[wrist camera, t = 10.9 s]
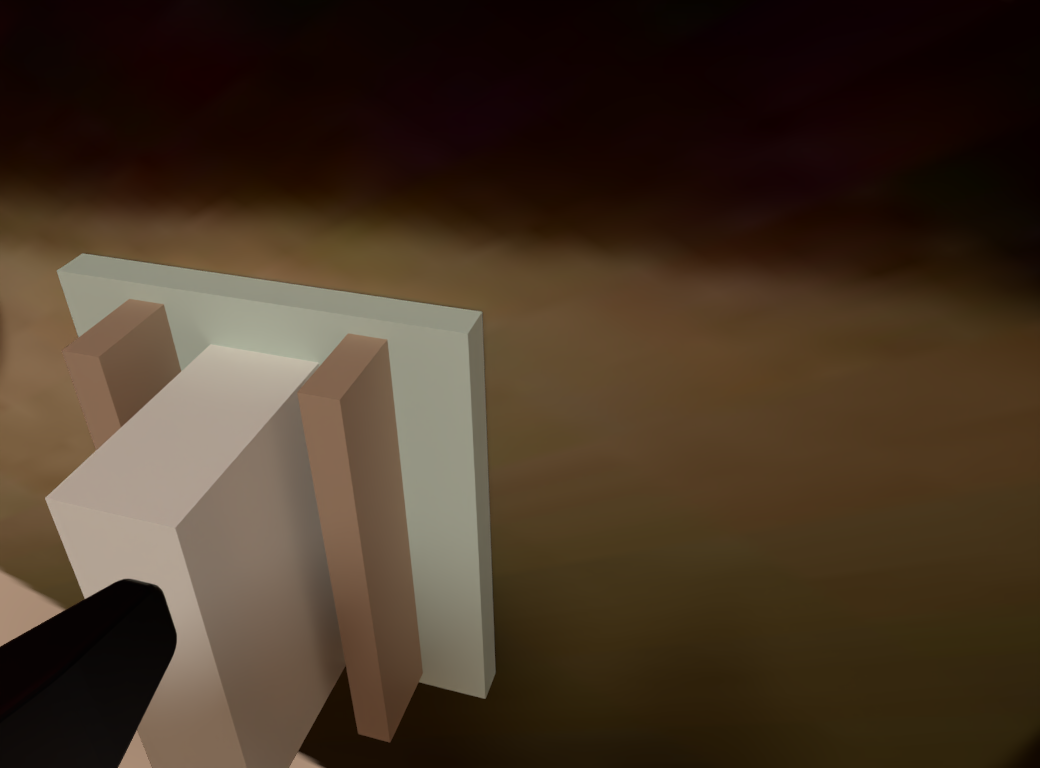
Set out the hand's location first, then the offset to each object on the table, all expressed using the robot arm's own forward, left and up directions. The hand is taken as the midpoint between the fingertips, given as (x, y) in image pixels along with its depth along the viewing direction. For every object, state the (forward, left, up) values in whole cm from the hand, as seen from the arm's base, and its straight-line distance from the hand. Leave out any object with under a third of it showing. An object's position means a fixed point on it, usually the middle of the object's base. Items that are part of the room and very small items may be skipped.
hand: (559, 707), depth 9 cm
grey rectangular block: (+10, +10, -11) cm, 18 cm away
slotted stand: (+10, +10, -12) cm, 19 cm away
